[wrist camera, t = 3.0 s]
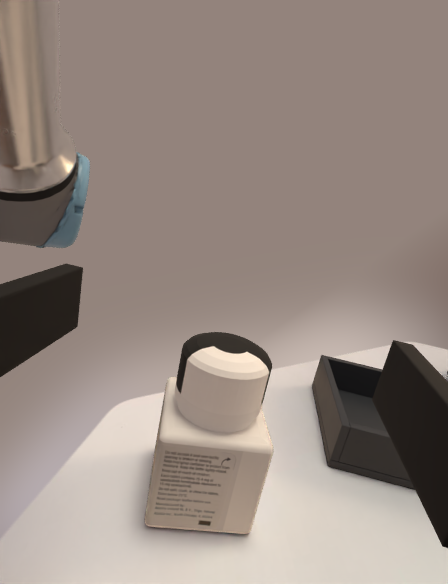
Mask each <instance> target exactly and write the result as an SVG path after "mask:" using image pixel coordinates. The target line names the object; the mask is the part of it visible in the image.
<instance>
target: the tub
mask: <svg viewBox="0 0 448 584" xmlns="http://www.w3.org/2000/svg"><path fill="white" fill-rule="evenodd" d="M381 373H382V369H378V368H373V367H369V366H365V365H361V364H357V363H353V362H349V361H345V360H341V359H336V358H332V357H327V356H324V355H322V356H321V358H320V362H319V365H318V368H317V371H316V375H315V378H314V381H313V384H312V387H313V392H314V397H315V402H316V407H317V412H318V417H319V423H320V428H321V433H322V438H323V443H324V448H325V453H326V458H327V463H328V466H330V467H333V468H337V469H341V470H345V471H348V472H352V473H356V474H360V475H363V476H367V477H371V478H375V479H378V480H382V481H386V482H390V483H393V484H397V485H401V486H405V487H408V488H412V489H415V488H414V486H413V484H412V482H411V480H410V478H409V476H408V474H407V471H406V469H405V467H404V465H403V463H402V461H401V459H400V457H399V455H398V453H397V451H396V449H395V447H394V445H393V443H392V440H391V438H390V436H389V434H388V432H387V430H386V428H385V426H384V424H383V422H382V420H381V418H380V416H379V414H378V412H377V409H376V407H375V405H374V403H373V401H372V398H373V395H374V392H375V390H376V387H377V384H378V381H379V378H380V376H381Z"/></svg>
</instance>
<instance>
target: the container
mask: <svg viewBox="0 0 448 584" xmlns="http://www.w3.org/2000/svg"><path fill="white" fill-rule="evenodd" d="M271 369H272V363H271V360H270V358H269V356H268V354H267V353H266V352H265V351H264V350H263V349H262V348H260V347H259V346H258V345H256V344H255V343H253V342H251V341H249V340H248V339H245V338H243V337H240V336H237V335H234V334H229V333H222V332H211V333H202V334H198V335H195V336H193V337H191V338H190V339H189V340H187V341H186V342H185V343H184V345H183V348H182V354H181V359H180V364H179V370H178V375H177V377H170V378H168V380H167V383H166V389H165V395H164V400H163V406H162V412H161V417H160V423H159V429H158V434H157V440H156V446H155V452H154V459H153V466H152V473H151V480H150V487H149V494H148V501H147V508H146V514H145V524H146V525H147V526H150V527H162V528H175V529H188V530H200V531H213V532H226V533H239V534H248V533H249V532H250V531H251V528H252V525H253V521H254V518H255V514H256V511H257V507H258V504H259V500H260V497H261V493H262V490H263V486H264V483H265V479H266V476H267V472H268V469H269V465H270V462H271V458H272V455H273V445H272V442H271V439H270V435H269V432H268V428H267V425H266V422H265V418H264V415H263V412H262V408H261V407H262V403H263V399H264V395H265V392H266V388H267V384H268V380H269V377H270V373H271Z"/></svg>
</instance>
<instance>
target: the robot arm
mask: <svg viewBox="0 0 448 584" xmlns="http://www.w3.org/2000/svg"><path fill="white" fill-rule="evenodd" d="M59 49H60V48H59V0H0V241H2V242H10V243H17V244H25V245H31V246H36V247H39V248H44V247H57V248H65V247H68V246H70V245H72V244H73V243H74V241H75V240H76V238H77V235H78V232H79V228H80V225H81V220H82V216H83V208H84V204H85V201H86V195H87V189H88V182H89V173H90V162H89V160H88V159H87V158H86V157H85V156H82V155H81V154H80V153H77V152H76V148H75V144H74V141H73V140H72V137H71V136H70V134H69V133H68V132H67V131H66V129H65V128H64V127H63V126H62V125H61V117H60V116H61V114H60V50H59ZM82 272H83V268H82V267H78V266H74V265H69V264H64V265H60V266H57V267H54V268H51V269H48V270H44V271H42V272H38V273H35V274H32V275H29V276H25V277H23V278H19V279H16V280H13V281H10V282H6V283H3V284H0V377H1V376H3V375H4V374H6V373H7V372H9V371H11V370H12V369H14V368H15V367H16V366H18V365H19V364H21V363H23V362H24V361H26V360H27V359H29V358H30V357H32V356H33V355H35V354H37V353H38V352H40V351H41V350H43V349H44V348H46V347H47V346H49V345H50V344H52V343H53V342H55V341H56V340H58V339H60V338H61V337H63V336H64V335H66V334H67V333H69V332H70V331H72V330H73V329H75V328H76V327H77V325H78V314H79V303H80V293H81V282H82ZM372 401H373V403H374V405H375V407H376V409H377V412H378V414H379V416H380V418H381V420H382V422H383V424H384V426H385V428H386V430H387V432H388V434H389V436H390V438H391V440H392V443H393V445H394V447H395V449H396V451H397V453H398V455H399V457H400V459H401V461H402V463H403V465H404V467H405V469H406V471H407V474H408V476H409V478H410V480H411V482H412V484H413V486H414V488H415V490H416V492H417V494H418V496H419V498H420V500H421V502H422V505H423V507H424V509H425V511H426V513H427V515H428V517H429V519H430V521H431V523H432V525H433V527H434V529H435V531H436V533H437V536H438V538H439V540H440V542H441V544H442V546H443V547H446V548H448V382H447V381H446V380H445V378H444V377H443V376H442V375H441V374H440V373H439V372H438V371H437V370H436V369H435V368H434V367H433V366H432V365H431V364H430V363H429V362H428V360H427V359H426V358H425V357H424V356H423V355H422V354H421V353H420V352H419V351H418V350H417V349H416V348H415V347H414V346H413V345H411V344H407V343H403V342H399V341H394V340H393V342H392V345H391V348H390V351H389V353H388V356H387V359H386V362H385V365H384V367H383V370H382V373H381V376H380V378H379V381H378V384H377V387H376V390H375V392H374V395H373V398H372Z"/></svg>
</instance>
